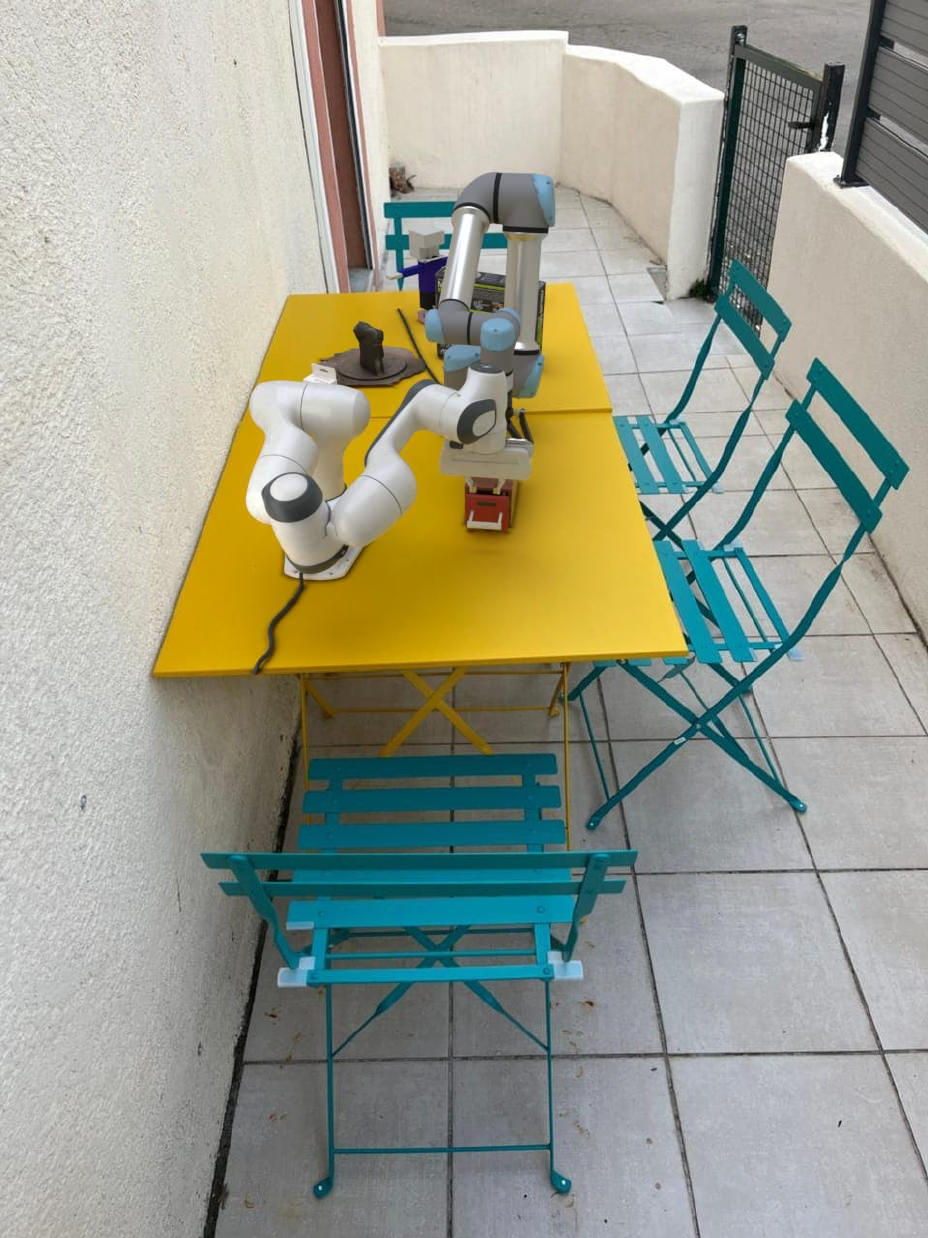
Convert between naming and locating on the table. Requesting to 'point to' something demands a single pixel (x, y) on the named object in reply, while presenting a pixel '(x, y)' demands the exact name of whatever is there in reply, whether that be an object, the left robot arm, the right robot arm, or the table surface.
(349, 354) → the sculpture
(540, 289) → the box
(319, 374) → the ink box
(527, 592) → the table surface
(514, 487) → the cabinet
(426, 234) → the toy
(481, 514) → the drawer
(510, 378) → the right robot arm
